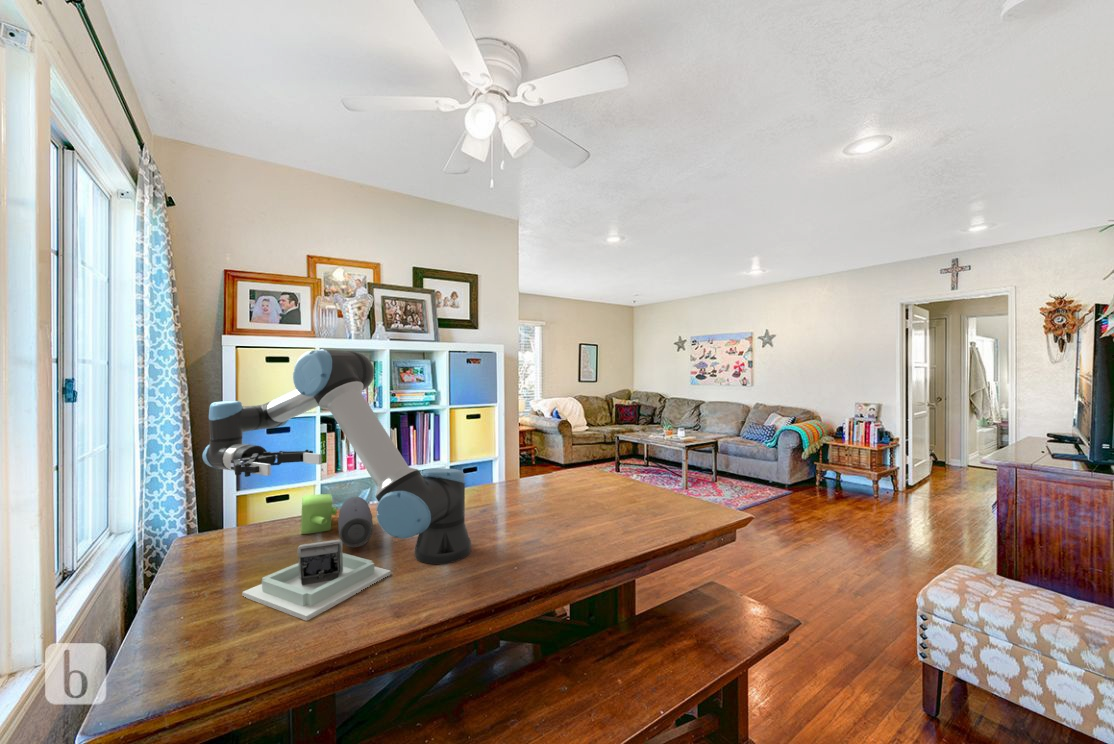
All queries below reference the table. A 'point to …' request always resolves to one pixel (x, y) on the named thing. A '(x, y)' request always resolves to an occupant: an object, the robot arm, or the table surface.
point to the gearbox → (316, 513)
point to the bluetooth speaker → (355, 522)
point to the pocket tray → (314, 588)
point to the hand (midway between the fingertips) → (296, 464)
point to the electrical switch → (320, 561)
